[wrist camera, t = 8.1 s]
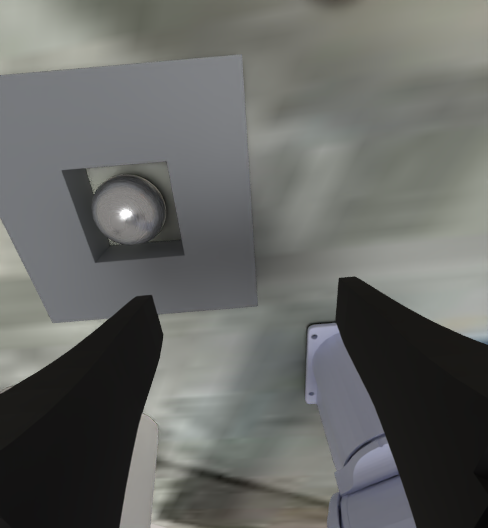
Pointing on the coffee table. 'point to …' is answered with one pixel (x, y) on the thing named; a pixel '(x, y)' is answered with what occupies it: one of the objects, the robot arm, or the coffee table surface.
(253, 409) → the coffee table surface
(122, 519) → the foam cup
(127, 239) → the steel ball
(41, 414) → the robot arm
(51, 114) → the grey square frame
